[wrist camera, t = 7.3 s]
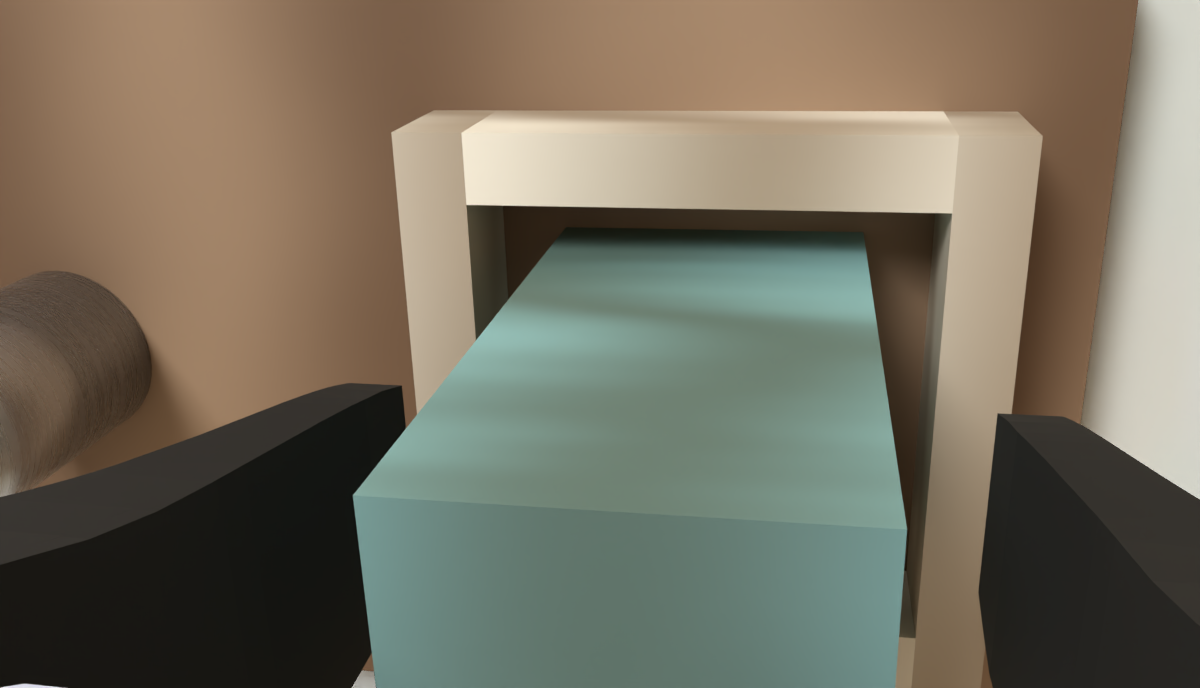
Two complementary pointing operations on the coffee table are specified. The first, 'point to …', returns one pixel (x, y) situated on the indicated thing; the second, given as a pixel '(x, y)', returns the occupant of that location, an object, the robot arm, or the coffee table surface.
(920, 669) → the brown board
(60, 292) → the brushed metal cylinder
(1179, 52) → the coffee table surface
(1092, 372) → the coffee table surface
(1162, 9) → the coffee table surface
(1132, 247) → the coffee table surface
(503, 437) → the peg
